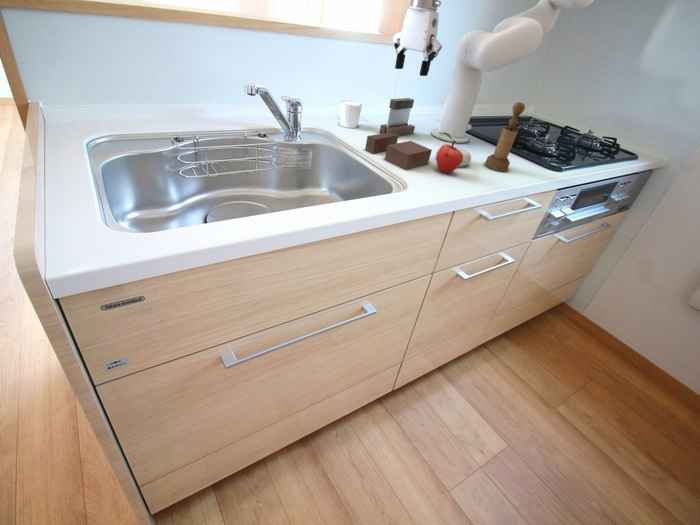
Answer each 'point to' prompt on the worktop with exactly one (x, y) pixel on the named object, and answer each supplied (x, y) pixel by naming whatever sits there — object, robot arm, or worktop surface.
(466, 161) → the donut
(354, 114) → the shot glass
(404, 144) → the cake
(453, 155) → the apple
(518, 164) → the worktop surface
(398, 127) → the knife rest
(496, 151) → the mortar and pestle
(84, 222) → the worktop surface
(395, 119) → the dough scraper
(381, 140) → the brown rectangular bar
